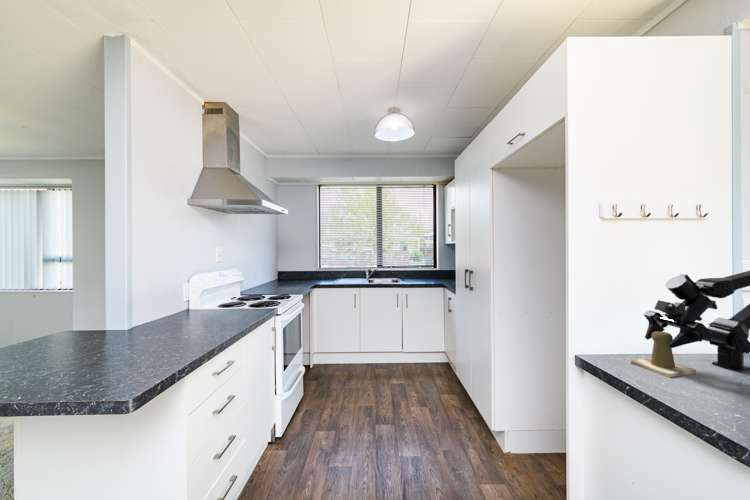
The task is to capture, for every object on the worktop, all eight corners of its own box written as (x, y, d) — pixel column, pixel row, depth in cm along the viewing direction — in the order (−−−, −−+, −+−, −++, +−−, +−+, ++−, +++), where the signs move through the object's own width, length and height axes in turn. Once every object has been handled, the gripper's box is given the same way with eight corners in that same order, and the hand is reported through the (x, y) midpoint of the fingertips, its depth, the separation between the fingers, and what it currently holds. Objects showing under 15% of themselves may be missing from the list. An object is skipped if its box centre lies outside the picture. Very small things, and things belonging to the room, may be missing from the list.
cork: (677, 369, 98) (676, 335, 98) (652, 366, 101) (651, 333, 101) (673, 363, 103) (672, 331, 103) (649, 360, 106) (648, 328, 106)
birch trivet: (655, 359, 109) (655, 356, 109) (695, 372, 98) (695, 369, 98) (630, 363, 107) (630, 360, 107) (669, 377, 95) (669, 374, 95)
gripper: (648, 288, 111) (618, 319, 111) (703, 297, 92) (666, 334, 93) (670, 309, 111) (640, 340, 111) (729, 322, 92) (692, 359, 93)
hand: (657, 342), depth 102 cm, fingers open, 8 cm apart
